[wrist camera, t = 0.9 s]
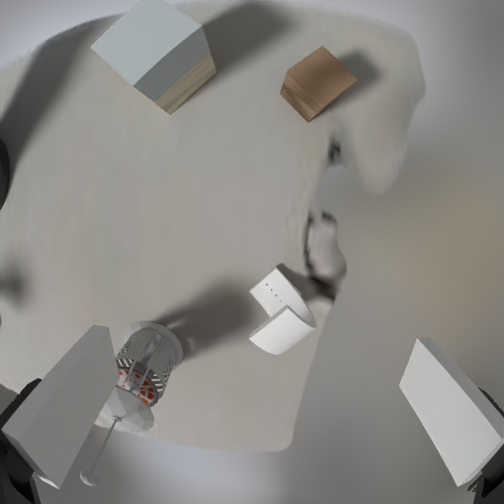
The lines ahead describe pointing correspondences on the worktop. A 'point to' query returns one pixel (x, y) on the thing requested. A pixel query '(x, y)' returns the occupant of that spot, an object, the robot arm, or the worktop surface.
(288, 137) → the worktop surface
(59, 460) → the robot arm
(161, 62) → the grey block
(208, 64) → the beech block
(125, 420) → the french press
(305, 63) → the walnut block
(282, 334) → the white curved piece
